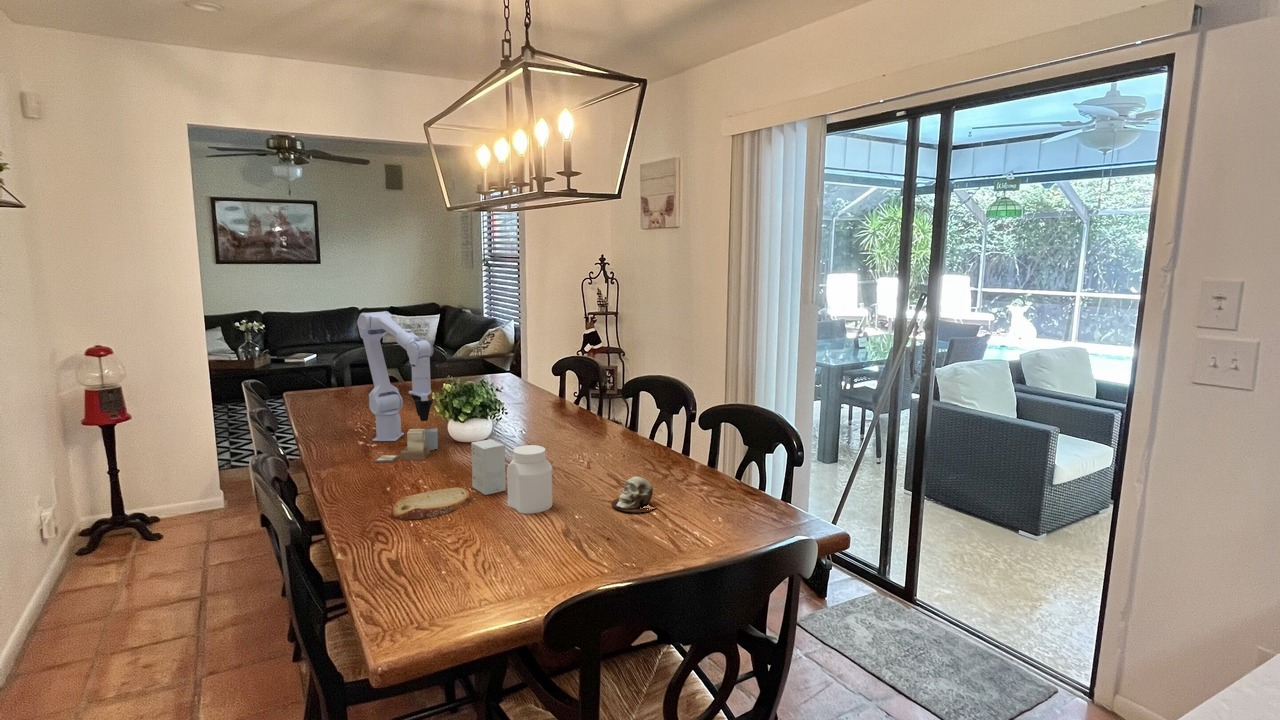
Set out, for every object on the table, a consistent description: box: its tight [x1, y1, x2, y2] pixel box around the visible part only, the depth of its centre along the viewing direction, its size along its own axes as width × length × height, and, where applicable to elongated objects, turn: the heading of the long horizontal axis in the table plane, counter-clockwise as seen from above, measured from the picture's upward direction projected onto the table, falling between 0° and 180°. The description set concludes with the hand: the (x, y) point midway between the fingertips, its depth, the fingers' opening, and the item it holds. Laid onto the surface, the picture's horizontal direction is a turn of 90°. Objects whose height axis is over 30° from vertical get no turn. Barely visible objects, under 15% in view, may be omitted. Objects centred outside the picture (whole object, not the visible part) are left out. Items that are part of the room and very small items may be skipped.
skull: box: [610, 475, 654, 513], centre depth 177 cm, size 12×10×10 cm
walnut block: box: [400, 445, 430, 461], centre depth 215 cm, size 7×7×3 cm
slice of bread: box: [390, 486, 472, 521], centre depth 174 cm, size 18×18×4 cm
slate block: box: [424, 428, 439, 451], centre depth 225 cm, size 4×4×6 cm
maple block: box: [406, 428, 426, 451], centre depth 215 cm, size 4×4×6 cm
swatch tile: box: [373, 454, 401, 463], centre depth 212 cm, size 6×6×1 cm
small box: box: [470, 438, 507, 496], centre depth 187 cm, size 8×6×13 cm
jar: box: [506, 444, 553, 515], centre depth 175 cm, size 12×10×15 cm
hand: (422, 418), depth 223 cm, fingers open, 7 cm apart
